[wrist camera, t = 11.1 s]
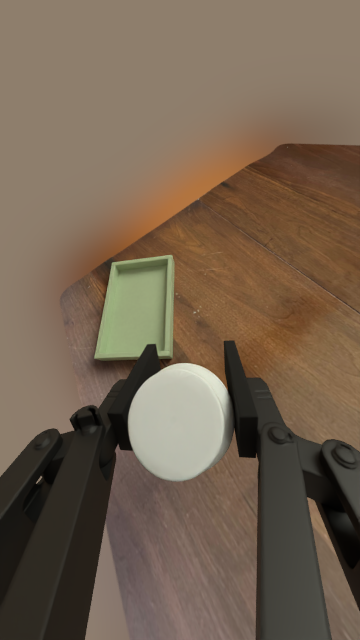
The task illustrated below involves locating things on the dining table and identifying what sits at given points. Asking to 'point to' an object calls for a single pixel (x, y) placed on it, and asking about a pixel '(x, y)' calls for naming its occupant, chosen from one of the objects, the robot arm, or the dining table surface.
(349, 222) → the dining table surface
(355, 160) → the dining table surface
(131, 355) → the tray
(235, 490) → the dining table surface
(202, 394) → the pill bottle
